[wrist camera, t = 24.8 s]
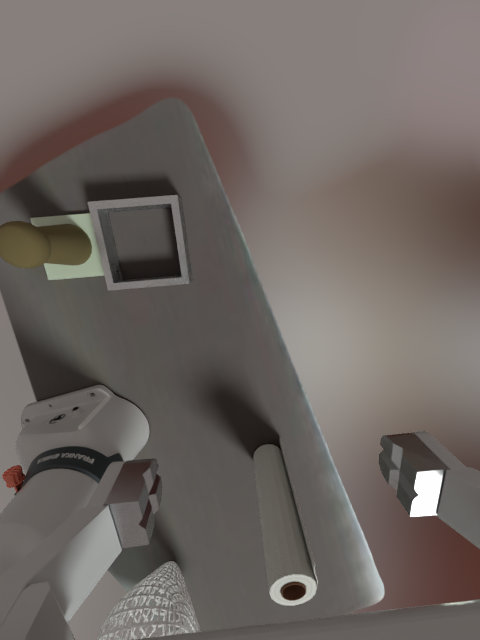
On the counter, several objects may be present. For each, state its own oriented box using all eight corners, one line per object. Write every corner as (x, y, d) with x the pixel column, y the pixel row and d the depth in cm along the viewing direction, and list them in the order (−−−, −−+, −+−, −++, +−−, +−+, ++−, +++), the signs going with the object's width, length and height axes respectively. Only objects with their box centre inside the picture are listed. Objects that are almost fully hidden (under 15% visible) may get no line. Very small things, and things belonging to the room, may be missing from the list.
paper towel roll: (260, 471, 53) (281, 614, 32) (247, 450, 51) (261, 587, 31) (292, 457, 52) (333, 594, 32) (280, 436, 51) (316, 566, 30)
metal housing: (117, 286, 41) (108, 290, 37) (100, 205, 37) (87, 201, 34) (192, 280, 41) (189, 283, 38) (181, 199, 37) (177, 194, 34)
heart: (118, 530, 56) (50, 707, 35) (185, 514, 55) (159, 682, 34) (162, 606, 64) (130, 786, 43) (221, 592, 63) (218, 767, 42)
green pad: (51, 279, 40) (48, 280, 39) (33, 218, 37) (30, 218, 37) (108, 274, 40) (107, 275, 39) (94, 213, 37) (92, 213, 37)
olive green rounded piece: (69, 273, 39) (11, 283, 29) (41, 237, 38) (-32, 235, 27) (100, 252, 38) (52, 255, 28) (73, 215, 37) (11, 203, 26)
